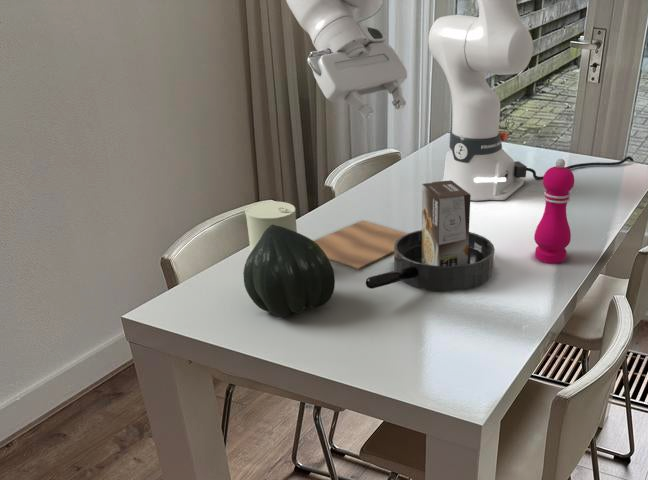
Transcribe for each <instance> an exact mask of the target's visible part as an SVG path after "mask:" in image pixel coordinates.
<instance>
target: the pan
mask: <svg viewBox="0 0 648 480" xmlns="http://www.w3.org/2000/svg"><path fill="white" fill-rule="evenodd" d="M495 251H496V250H495V246H494V244H493V242H492V241H491V240H489V239H488V238H487V237H485V236H483V235H480V234H478V233H476V232H475V233H474V232H471V231H469V243H468V264H467V265H460V266H435V265H428V264H423V263H422V229H420V230H416V231H412V232H408V233H406V235H404V236H402V237H400V238H399V239H398V240H397V241H396V242H395V244H394V253H393V258H394V259H393V260H394V261H393V265H394V267H393V268H394V269H393V271H396V270H400V269H404V268H408V267H412V266H413V267H416V268H417V270H418V276H417V277H414V278H410V279H407V280H403V281H402V282H403V283H405V284H407V285H409V286H412V287H414V288H418V289H422V290H426V291H434V292H458V291H467V290H470V289H475V288H477V287H480V286H483V285H484V284H486V283H487V282H489V281H490V280H491V279H492V278H493V275H494V266H495V265H494V264H495Z"/></svg>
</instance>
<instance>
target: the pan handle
mask: <svg viewBox="0 0 648 480" xmlns="http://www.w3.org/2000/svg"><path fill="white" fill-rule="evenodd" d="M417 276H418V270H417V268H416V267H413V266H412V267H408V268H404V269H400V270H396V271H394V270H392V271H388V272H385V273H381V274H380V273H379V274H377V275H373V276H369V277H368V278H366V280H365V286H366V287H367V288H368V289H370V290H372V289H377V288H380V287H383V286H384V287H385V286H387V285H392V284H395V283H400V282H403V280H407V279H410V278H414V277H417Z"/></svg>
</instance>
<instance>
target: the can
mask: <svg viewBox="0 0 648 480" xmlns="http://www.w3.org/2000/svg"><path fill="white" fill-rule="evenodd" d="M296 211H297V209H296V207H295V206H294V205H293V204H292V203H289V202H285V201H276V200H274V201H273V200H270V201H269V200H268V201H261V202H256V203H253V204H250V205H249V206H247V207H246V208H245V211H244V213H245V219H246V226H247V232H248V243H249V250H250V251H249V252H250V253H251V251H252V250H253V248H254V247H255V245H256V244H257V243H258V241H259V239H260V238H261V236H262V234H263V233H264V231H265V230H266V229H267V228H268V227H270V225H272V224H274V225H276V226H281V227H284V228H287V229H289V230H292V231H295V232H297V233H298V230H297V216H296V215H297V214H296Z"/></svg>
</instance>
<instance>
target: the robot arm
mask: <svg viewBox="0 0 648 480" xmlns="http://www.w3.org/2000/svg"><path fill="white" fill-rule="evenodd" d="M285 1H286V4H287V6H288V8H289V9H290V11H291V13H292V15H293V16H294V18H295V19H296V21H297V22H298V24H299V26H300V27H301V28H302V29H303V30H304V31H305V32H306V33H307V34H308V35H309V37H310V39H311V43H312V45H313V47H314V48H315V49H316V50H312V51H310V52H309V54H308V56H307V64H308V66H309V67H310V68H311V70H312V75H313V77H314V79H315V81H316V83H317V85H318V87H319V89H320V90H321V92H322V94H323V96H324V97H325V99H327V100H328V101H329V102H331V103H338V102H342V101H346V103H347V104H348V105H349V106H350V107H351V108H353V109H354V110H356V111H357V112H358V113H359V114H360V116H361V117H362V118H363V119H367V118H370V117H372V115H373V114H374V109H373V108H372V106H371V105H370V103H365V102H364V101H363V100H362V99H361V98H360V97H363V96H367V95H372V94H376V93H380V92H385V91H387V92H388V94H389V95H392V99H393V100H392V101H391V104H392V106H394V109H396V110H400V109H403V108H404V107H405V106H406V105H407V101H406V99H405V98H404V96H403V92H402V87H401V85H402V84H403V83H405V81H406V79H408V69H407V68H406V67H405V64H404V63H403V61H402V60H401V58H400V57H399V55H398V54H397V52H396V50H395V49H394V48H393V47H392V46H391V44H389V43H387V42H385V41H386V40H387V36H386V34H385V33H384V31H383V30H381V29H380V28H379V29H378V28H375V27H371V26H368V25H366V24H363V23H361V22H363V21H366V20H368V19H370V18H373V17H374V16H375V15H376V14H377V13H378V12H379V11H380V10H381V8H382V6H383V3H384V0H285ZM476 2H477V5H478V16H472V15H465V14H451V15H450V14H449V15H445V16H439V17H438V18H437V19H436V20H435V21H434V22H433V24H432V25H431V27H430V30H429V33H428V39H427V40H428V41H427V42H428V49H429V53H430V54H431V57H432V58H433V59H434V60H435V61H436V62H437V63H438V64H439V66H440V68H441V70H442V71H443V73H444V76H445V79H446V80H447V84H448V88H449V91H450V97H451V118H452V119H451V131H450V132H449V138H448V139H449V140H448V141H449V149H450V150H449V151H448V152H447V153H446V155H445V164H444V173H443V179H440V181H453V182H454V183H456V184H457V185H458V186H460V187H461V188H462V189H464V190H465V191H466V192H468V193H469V194H470V195H471V197H470V201H476V202H477V201H490V200H491V201H505V200H507V199H508V198H509V197H511V195H513V194H514V193H515V192H516V191H518V190H519V189H520V188H521V187H522V186H523V185H524V184H525V181H524V179H523V178H526V177H527V172H531V173H532V176H533V178H534V179H535V180H543V177H544V175H543V176H537V171H536V170H535V169H533V168H530V167H527V165H525V164H524V163H522V162H521V161H519V160H518V161H515V160H514V158H512V157H511V156H510V155H509V154H508V153H507V152H506V151H505V150H504V149H503V144H502V142H506V141H507V140H508V137H509V133H508V132H506V131H500V119H501V118H500V117H501V100H500V97H499V95H498V94H497V93H496V92H495V90H494V89H492V87H491V86H490V85H489V83H488V82H487V78H486V75H485V73H486V74H491V75H492V74H493V75H498V76H507V75H517V74H520V73H522V72H523V71H524V70H525V69H526V68H527V67H528V66H529V64H530V62H531V59H532V58H533V52H534V41H533V38H532V35H531V33H530V31H529V29H528V28H527V26H525V24H524V22H523V20H522V19H521V16H520V13H519V9H518V6H517V0H476ZM628 160H630V162H634V161H635V160H634V159H633V157H632V156H629V155H628V156H626V157H625V158H623V159H622V160H620V161H613V162H600V161H599V162H585V163H584V162H583V163H577V164H572V165H568V166H565V167H566V168H568V169H569V170H571V169H574V168H581V167H590V166H619V165H622V164H624V163H625V162H626V161H628Z"/></svg>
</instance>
